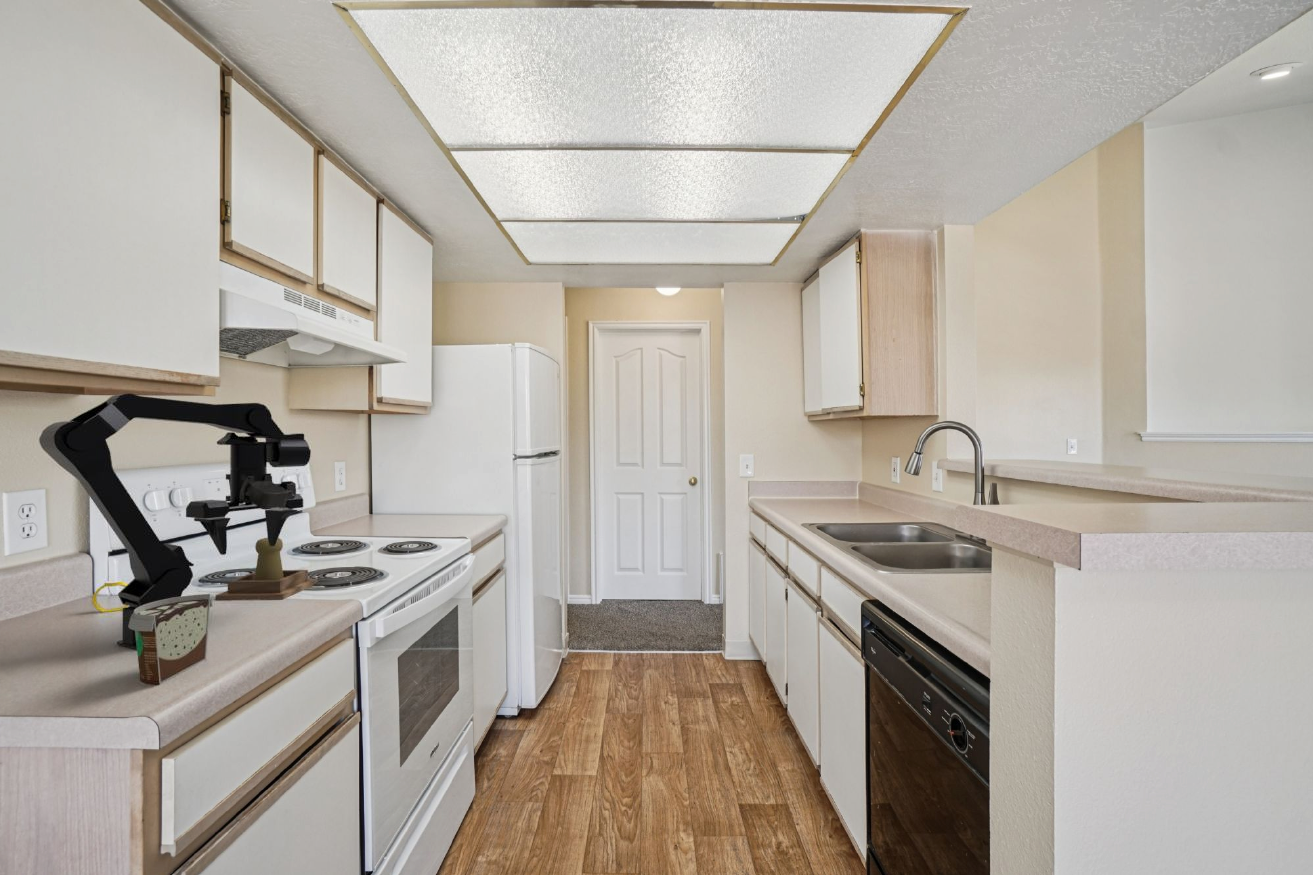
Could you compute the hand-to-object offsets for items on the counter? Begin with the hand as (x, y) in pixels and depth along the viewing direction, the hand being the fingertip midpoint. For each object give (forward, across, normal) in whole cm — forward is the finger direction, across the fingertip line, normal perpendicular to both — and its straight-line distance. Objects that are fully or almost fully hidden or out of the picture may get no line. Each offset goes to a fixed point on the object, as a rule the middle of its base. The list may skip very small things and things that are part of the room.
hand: (248, 550), depth 113 cm
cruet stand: (+13, +15, +16) cm, 25 cm away
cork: (+12, +15, +16) cm, 25 cm away
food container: (+13, -22, -15) cm, 30 cm away
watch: (+13, -7, +30) cm, 34 cm away
